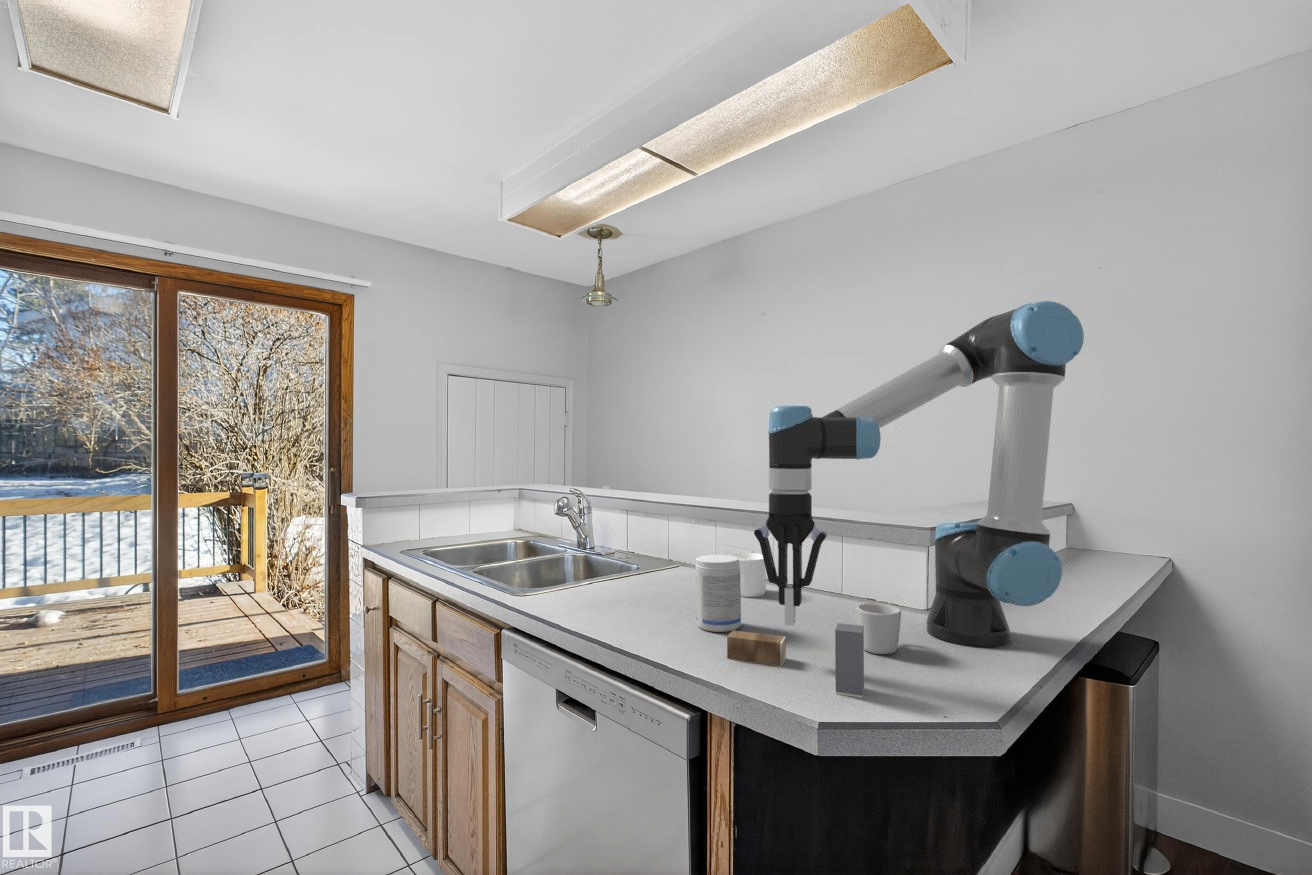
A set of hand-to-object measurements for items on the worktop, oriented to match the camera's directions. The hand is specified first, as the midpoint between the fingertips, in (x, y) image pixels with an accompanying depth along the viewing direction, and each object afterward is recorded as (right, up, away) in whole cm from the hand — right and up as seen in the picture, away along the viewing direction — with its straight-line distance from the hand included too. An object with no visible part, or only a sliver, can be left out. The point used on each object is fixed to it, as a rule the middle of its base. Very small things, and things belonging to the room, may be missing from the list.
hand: (790, 623), depth 110 cm
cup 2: (+19, -7, +7) cm, 22 cm away
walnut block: (-1, -5, 0) cm, 5 cm away
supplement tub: (-11, -8, +22) cm, 25 cm away
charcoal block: (+7, -7, -12) cm, 16 cm away
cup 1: (0, -8, +51) cm, 51 cm away
